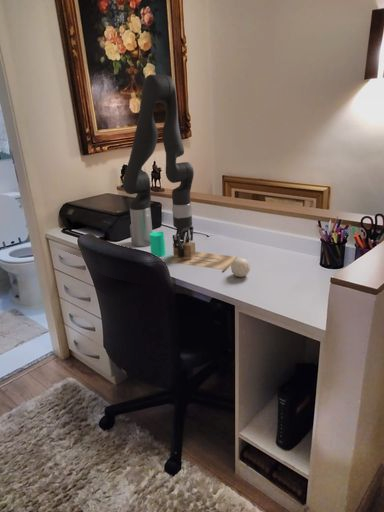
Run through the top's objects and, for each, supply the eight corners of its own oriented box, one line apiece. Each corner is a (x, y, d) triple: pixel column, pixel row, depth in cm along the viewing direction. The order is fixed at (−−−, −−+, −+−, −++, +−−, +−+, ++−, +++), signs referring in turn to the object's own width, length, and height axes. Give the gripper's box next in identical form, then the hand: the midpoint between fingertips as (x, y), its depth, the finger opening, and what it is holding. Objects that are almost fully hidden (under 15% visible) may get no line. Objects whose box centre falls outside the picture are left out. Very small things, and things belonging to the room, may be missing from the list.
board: (168, 264, 153) (167, 261, 153) (184, 252, 165) (183, 250, 165) (223, 272, 143) (223, 269, 143) (236, 259, 155) (236, 256, 154)
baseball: (234, 281, 136) (234, 263, 133) (228, 273, 142) (228, 256, 140) (252, 279, 137) (253, 261, 134) (246, 271, 143) (246, 254, 141)
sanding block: (173, 257, 157) (172, 243, 155) (178, 254, 160) (177, 240, 158) (191, 259, 154) (190, 245, 152) (195, 256, 157) (194, 242, 155)
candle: (168, 255, 163) (166, 228, 159) (161, 260, 158) (159, 232, 154) (156, 253, 166) (153, 227, 161) (148, 258, 161) (146, 231, 156)
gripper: (182, 209, 158) (184, 248, 164) (164, 218, 146) (168, 259, 152) (198, 210, 155) (200, 249, 161) (182, 220, 143) (184, 261, 149)
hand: (184, 254), depth 157 cm, fingers open, 5 cm apart
